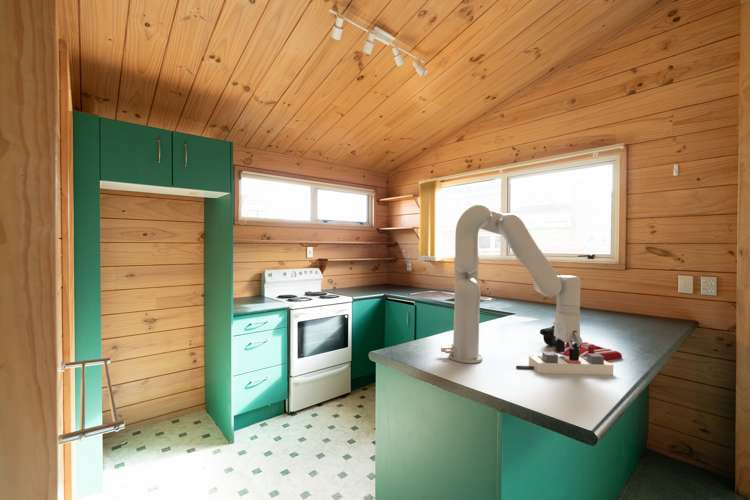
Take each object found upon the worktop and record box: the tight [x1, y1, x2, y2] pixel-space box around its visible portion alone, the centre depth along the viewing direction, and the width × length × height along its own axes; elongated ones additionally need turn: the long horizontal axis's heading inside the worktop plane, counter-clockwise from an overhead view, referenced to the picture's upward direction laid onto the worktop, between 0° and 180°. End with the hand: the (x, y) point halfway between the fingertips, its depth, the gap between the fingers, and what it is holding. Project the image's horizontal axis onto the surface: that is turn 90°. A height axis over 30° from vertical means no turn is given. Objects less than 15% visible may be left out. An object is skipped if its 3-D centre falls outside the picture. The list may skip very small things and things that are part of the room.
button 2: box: [565, 358, 581, 364], centre depth 127 cm, size 4×3×3 cm
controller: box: [539, 322, 556, 347], centre depth 159 cm, size 4×12×10 cm, turn 122°
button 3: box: [587, 353, 604, 365], centre depth 127 cm, size 4×3×3 cm
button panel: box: [515, 355, 614, 376], centre depth 129 cm, size 32×8×4 cm, turn 89°
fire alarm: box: [552, 341, 623, 362], centre depth 147 cm, size 16×6×20 cm
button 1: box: [541, 351, 559, 363], centre depth 127 cm, size 4×3×3 cm
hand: (566, 355), depth 131 cm, fingers open, 9 cm apart
